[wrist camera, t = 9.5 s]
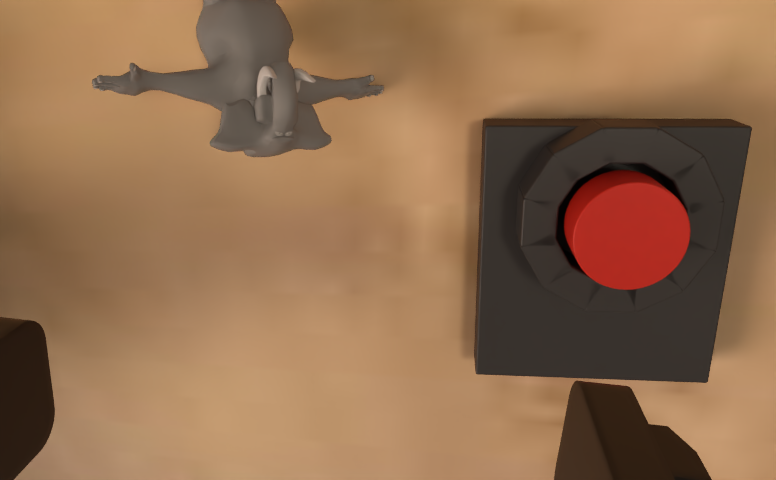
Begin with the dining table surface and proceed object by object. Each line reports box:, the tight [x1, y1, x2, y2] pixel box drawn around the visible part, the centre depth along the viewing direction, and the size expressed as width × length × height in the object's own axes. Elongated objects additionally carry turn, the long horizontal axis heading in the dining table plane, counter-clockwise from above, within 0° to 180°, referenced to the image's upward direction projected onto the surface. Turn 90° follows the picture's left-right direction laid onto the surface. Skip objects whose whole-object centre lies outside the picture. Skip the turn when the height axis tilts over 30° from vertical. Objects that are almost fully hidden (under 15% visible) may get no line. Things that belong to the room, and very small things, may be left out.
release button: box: [564, 170, 691, 290], centre depth 21 cm, size 4×4×2 cm
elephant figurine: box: [92, 0, 384, 157], centre depth 21 cm, size 10×6×9 cm
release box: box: [474, 119, 752, 383], centre depth 24 cm, size 10×9×4 cm
